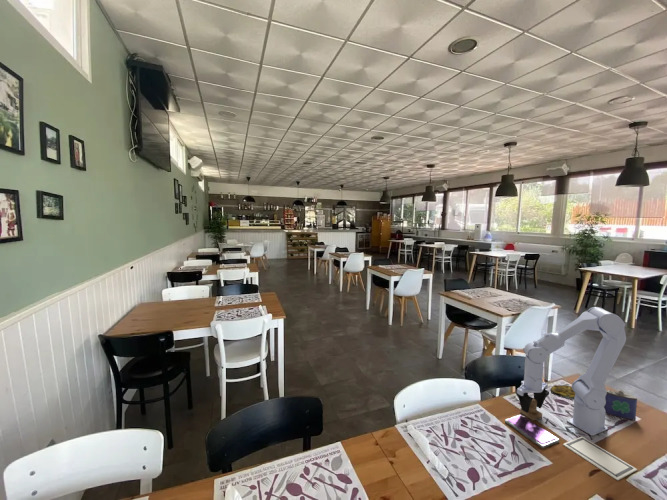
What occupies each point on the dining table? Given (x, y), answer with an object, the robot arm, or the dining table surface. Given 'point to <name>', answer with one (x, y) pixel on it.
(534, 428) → the ink pad
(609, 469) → the marked card
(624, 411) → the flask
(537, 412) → the stamp
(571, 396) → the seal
